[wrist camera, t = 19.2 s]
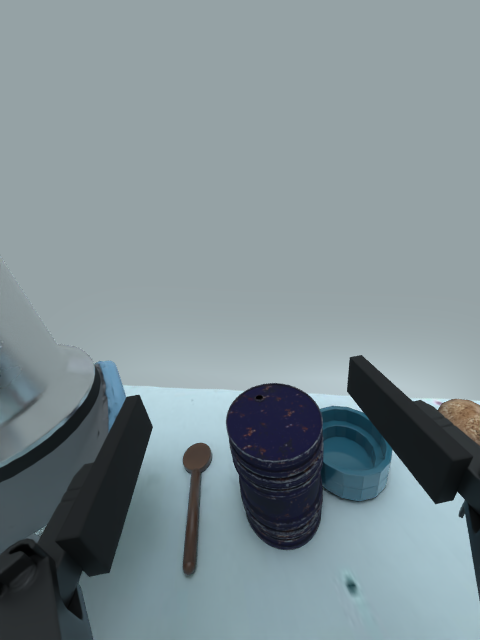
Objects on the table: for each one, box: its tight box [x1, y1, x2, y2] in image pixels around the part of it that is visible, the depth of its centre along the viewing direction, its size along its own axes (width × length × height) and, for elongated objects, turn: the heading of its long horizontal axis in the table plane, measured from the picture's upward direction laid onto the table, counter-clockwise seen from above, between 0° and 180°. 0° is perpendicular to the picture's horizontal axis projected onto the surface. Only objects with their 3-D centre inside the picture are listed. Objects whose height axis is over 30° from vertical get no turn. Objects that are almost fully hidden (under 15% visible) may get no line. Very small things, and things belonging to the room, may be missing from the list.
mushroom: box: [438, 399, 480, 446], centre depth 31 cm, size 8×8×6 cm
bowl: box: [320, 406, 392, 501], centre depth 31 cm, size 10×10×6 cm
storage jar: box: [226, 383, 324, 550], centre depth 26 cm, size 10×10×15 cm
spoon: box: [183, 443, 212, 575], centre depth 30 cm, size 15×4×1 cm, turn 6°
